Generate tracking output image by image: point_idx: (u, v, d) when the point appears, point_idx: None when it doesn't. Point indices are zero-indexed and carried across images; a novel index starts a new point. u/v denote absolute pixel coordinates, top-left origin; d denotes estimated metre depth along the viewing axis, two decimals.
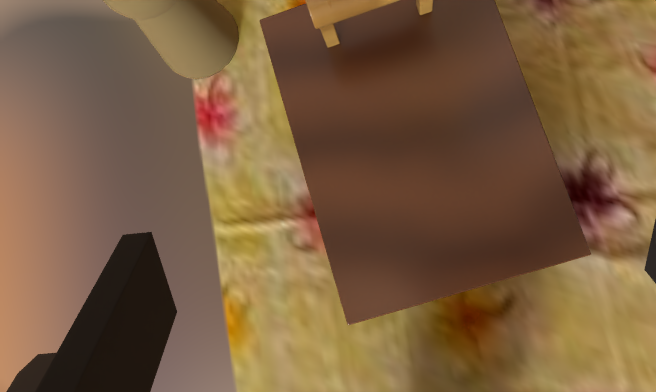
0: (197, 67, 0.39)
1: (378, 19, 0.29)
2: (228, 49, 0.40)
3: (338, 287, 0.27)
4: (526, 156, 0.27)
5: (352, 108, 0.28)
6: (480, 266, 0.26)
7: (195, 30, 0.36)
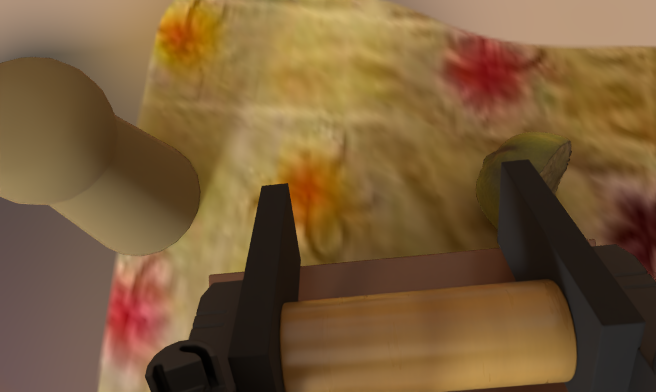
0: (124, 246, 0.26)
1: None
2: (177, 228, 0.27)
3: None
4: None
5: None
6: None
7: (124, 212, 0.23)
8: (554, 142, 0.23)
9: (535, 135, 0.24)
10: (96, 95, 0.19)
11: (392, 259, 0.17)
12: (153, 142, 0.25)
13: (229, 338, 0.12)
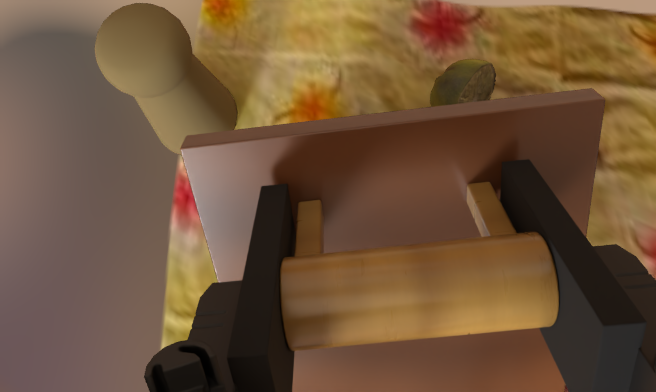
0: None
1: (397, 193, 0.16)
2: None
3: None
4: (533, 389, 0.21)
5: None
6: None
7: (191, 114, 0.35)
8: (479, 63, 0.34)
9: (467, 59, 0.35)
10: (182, 26, 0.31)
11: (381, 126, 0.15)
12: (208, 70, 0.36)
13: (228, 339, 0.12)
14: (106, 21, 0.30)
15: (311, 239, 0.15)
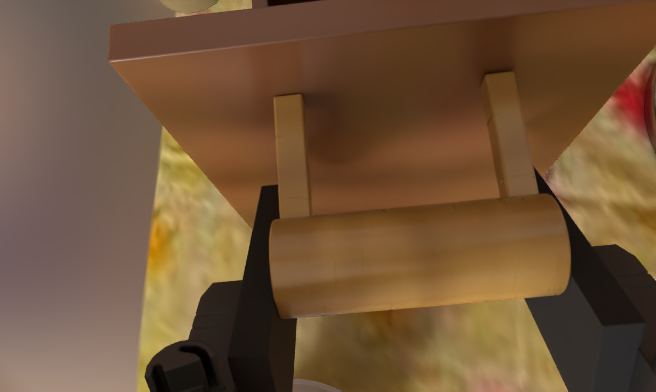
0: None
1: (397, 84, 0.13)
2: None
3: None
4: None
5: None
6: None
7: None
8: None
9: None
10: None
11: (386, 31, 0.11)
12: None
13: (228, 339, 0.12)
14: None
15: (296, 174, 0.13)
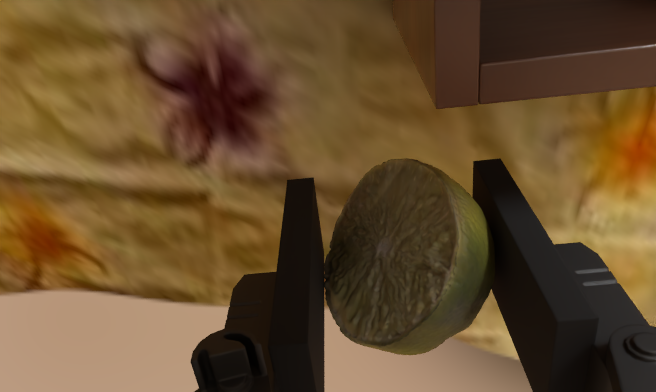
0: None
1: None
2: None
3: None
4: None
5: None
6: None
7: None
8: (387, 350, 0.13)
9: None
10: None
11: None
12: None
13: (264, 329, 0.12)
14: None
15: None
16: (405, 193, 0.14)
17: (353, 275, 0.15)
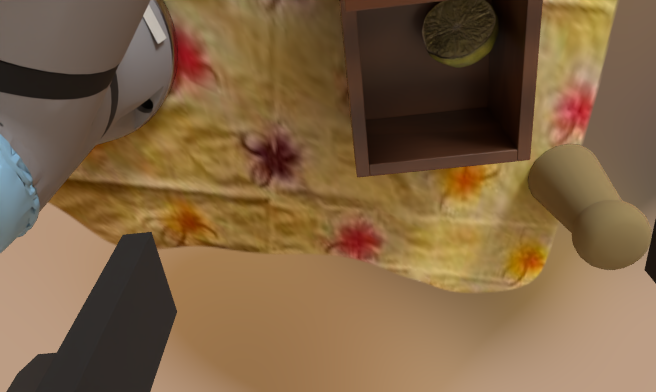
0: (576, 153, 0.46)
1: None
2: (544, 162, 0.47)
3: None
4: None
5: None
6: None
7: (573, 183, 0.43)
8: (486, 46, 0.37)
9: (486, 53, 0.37)
10: (579, 252, 0.40)
11: None
12: (553, 214, 0.46)
13: None
14: (639, 257, 0.40)
15: None
16: (452, 8, 0.38)
17: (451, 41, 0.38)
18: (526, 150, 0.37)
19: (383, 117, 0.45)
